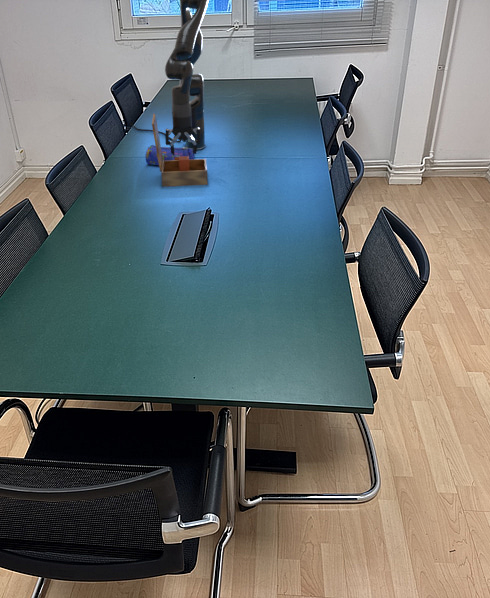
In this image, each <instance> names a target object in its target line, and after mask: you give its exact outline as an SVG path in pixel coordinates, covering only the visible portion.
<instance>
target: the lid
mask: <svg viewBox="0 0 490 598" xmlns="http://www.w3.org/2000/svg"><path fill="white" fill-rule="evenodd" d="M151 120H152V121H151V127H152V130H153V132H152V133H153V139H154V144H155V145H154V146H156V151H157V157H158V162H159V165H158V167H159V172H160V173H161V171H162V165H163V157H162V151H161V147H162V146H161V145H162V144H161V139H160V133H158V131H159V128H158V122H157V115H156V113H153V114H152V119H151Z"/></svg>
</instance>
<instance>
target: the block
mask: <svg viewBox="0 0 490 598" xmlns="http://www.w3.org/2000/svg"><path fill="white" fill-rule="evenodd" d="M179 171H189V156H179Z"/></svg>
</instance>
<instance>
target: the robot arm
mask: <svg viewBox="0 0 490 598" xmlns="http://www.w3.org/2000/svg"><path fill="white" fill-rule="evenodd" d="M208 4H209V0H179V8H180V11H179V12H180V29H179V31H178V34H177V36H176V41H175V44H174V48H173V50H172V52H171V54H170V56H169V57H168V59H167V61H166V64H165V67H164V73H165V76H166V78H167V79H169V80H172V81H179V83H178V85H174V86H173V87H172V88H171V92H170V93H171V117H172V119H171V120H172V128H171V129H169V128H165V132H164V131H159V130H158V133H159V134H162V135H164V136H165V145H166V146H169V147H171V154H173V155H174V147H175V144H176V143H181V142H183V143H185V148H190V149H192V150H193V154H195V153H197V151H200V150H203V149H205V148H206V137H205V136H206V135H205V107H204V105H205V104H204V103H205V102H204V101H205V100H204V97H205V96H204V93H205V83H204V77H203V75H202V73H201V74H200V73H194V65H195V64H196V63H197V62H198V60H199V59H200V57H201V55H202V53H203V34H202V31H201V29H200V28H201V24H202V22H203V19H204V17H205V14H206V11H207V8H208ZM191 10H195V12H194V14H192V11H191ZM191 97H194V98H193V99H192V100H191ZM130 127H131V128H134V129H135V130H137V131H143V132H152V133H153V129H146V128H145V129H144V128H137V126H135V125H134V124H132V125H130ZM171 133H172V134H173V137H170V135H171ZM195 155H196V154H195Z"/></svg>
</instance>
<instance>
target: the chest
mask: <svg viewBox="0 0 490 598" xmlns="http://www.w3.org/2000/svg"><path fill="white" fill-rule="evenodd" d="M160 174H161V186H162V188H164V187H189V186H208V185H209V184H208V165H207V158H195V159H191V160H189V171H179V160H167V161H163V165H162V171H161V172H160Z"/></svg>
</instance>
